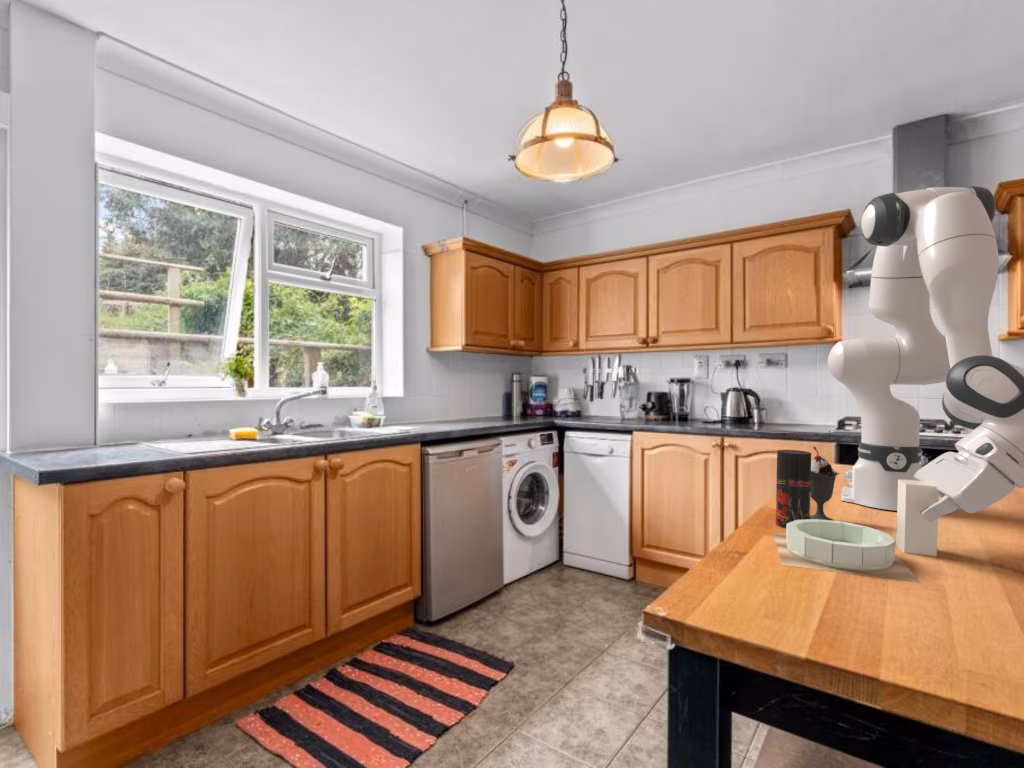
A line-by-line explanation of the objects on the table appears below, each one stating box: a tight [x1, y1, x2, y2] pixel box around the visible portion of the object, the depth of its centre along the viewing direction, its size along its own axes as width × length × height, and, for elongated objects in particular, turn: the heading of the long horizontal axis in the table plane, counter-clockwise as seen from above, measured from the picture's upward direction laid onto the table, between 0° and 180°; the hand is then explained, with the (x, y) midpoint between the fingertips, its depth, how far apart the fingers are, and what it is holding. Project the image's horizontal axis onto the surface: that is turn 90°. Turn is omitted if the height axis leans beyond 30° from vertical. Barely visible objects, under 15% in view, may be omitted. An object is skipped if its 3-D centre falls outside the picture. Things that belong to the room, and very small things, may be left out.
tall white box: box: [895, 479, 940, 557], centre depth 92 cm, size 4×4×12 cm
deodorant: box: [775, 449, 812, 530], centre depth 106 cm, size 6×6×15 cm
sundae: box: [810, 446, 840, 521], centre depth 112 cm, size 7×7×15 cm
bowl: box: [785, 519, 896, 571], centre depth 89 cm, size 15×15×4 cm
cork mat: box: [772, 532, 922, 584], centre depth 89 cm, size 18×18×1 cm
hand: (914, 510), depth 92 cm, fingers open, 8 cm apart
